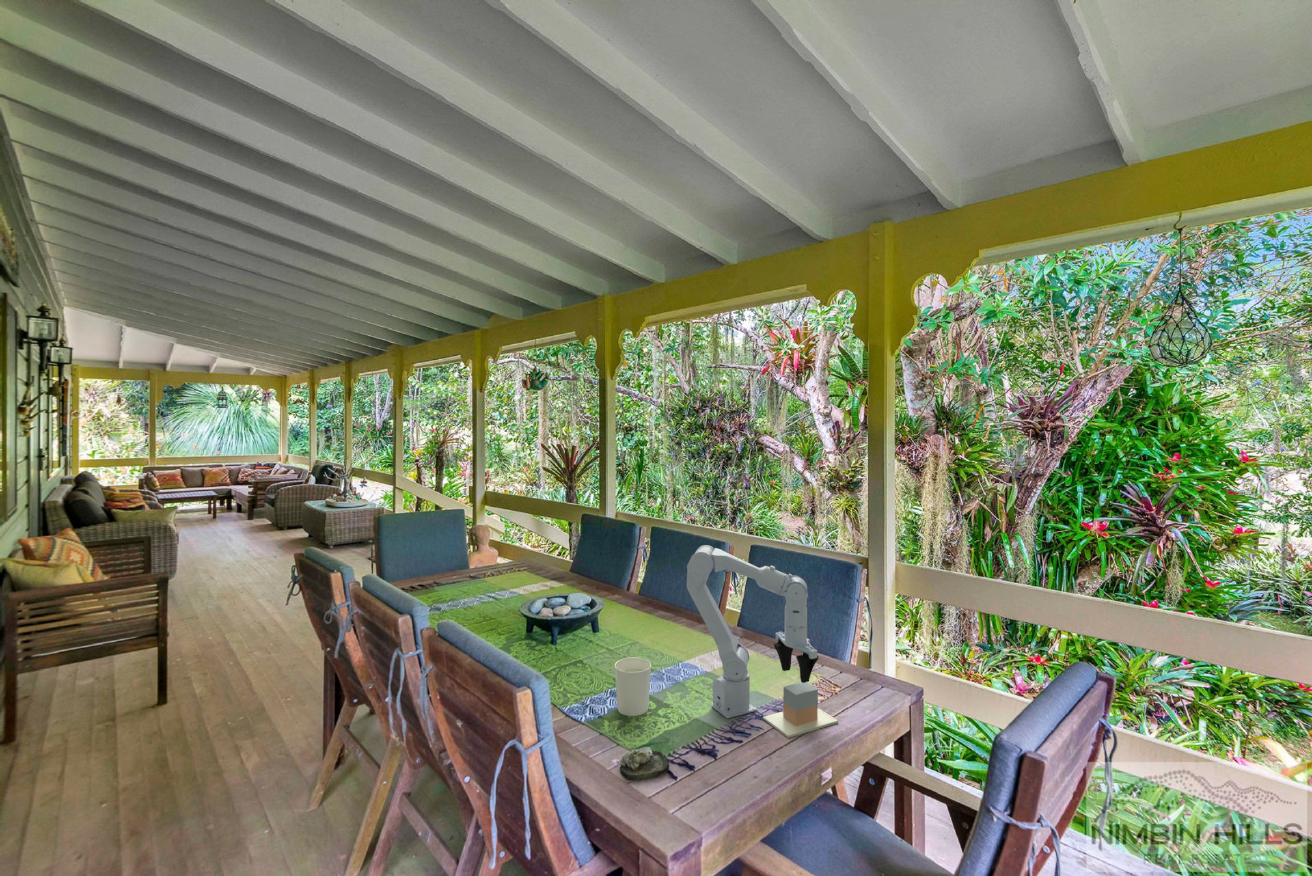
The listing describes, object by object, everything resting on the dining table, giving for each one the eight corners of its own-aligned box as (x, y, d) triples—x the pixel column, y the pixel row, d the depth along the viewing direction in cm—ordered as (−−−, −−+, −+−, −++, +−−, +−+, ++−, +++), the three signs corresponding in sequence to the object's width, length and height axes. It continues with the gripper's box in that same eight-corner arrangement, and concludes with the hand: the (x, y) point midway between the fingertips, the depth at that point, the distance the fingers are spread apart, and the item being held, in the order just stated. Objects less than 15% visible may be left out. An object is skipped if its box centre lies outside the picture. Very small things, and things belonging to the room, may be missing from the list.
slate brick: (796, 710, 145) (796, 694, 145) (783, 702, 150) (783, 686, 150) (817, 704, 148) (817, 689, 148) (804, 696, 153) (804, 681, 153)
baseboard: (788, 737, 141) (788, 735, 141) (763, 719, 150) (763, 716, 150) (837, 722, 148) (837, 720, 148) (811, 705, 157) (811, 703, 157)
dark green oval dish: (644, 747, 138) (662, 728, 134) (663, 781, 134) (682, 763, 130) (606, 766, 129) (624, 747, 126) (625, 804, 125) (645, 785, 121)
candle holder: (609, 714, 153) (609, 669, 152) (622, 697, 162) (622, 655, 162) (644, 720, 150) (644, 674, 149) (655, 702, 159) (655, 659, 159)
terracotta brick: (795, 726, 146) (796, 710, 145) (783, 717, 150) (783, 702, 150) (817, 720, 149) (817, 704, 148) (804, 711, 153) (804, 696, 153)
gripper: (826, 631, 147) (826, 684, 147) (790, 614, 160) (789, 662, 160) (804, 635, 144) (804, 689, 144) (769, 617, 157) (769, 667, 157)
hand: (795, 675), depth 152 cm, fingers open, 7 cm apart
